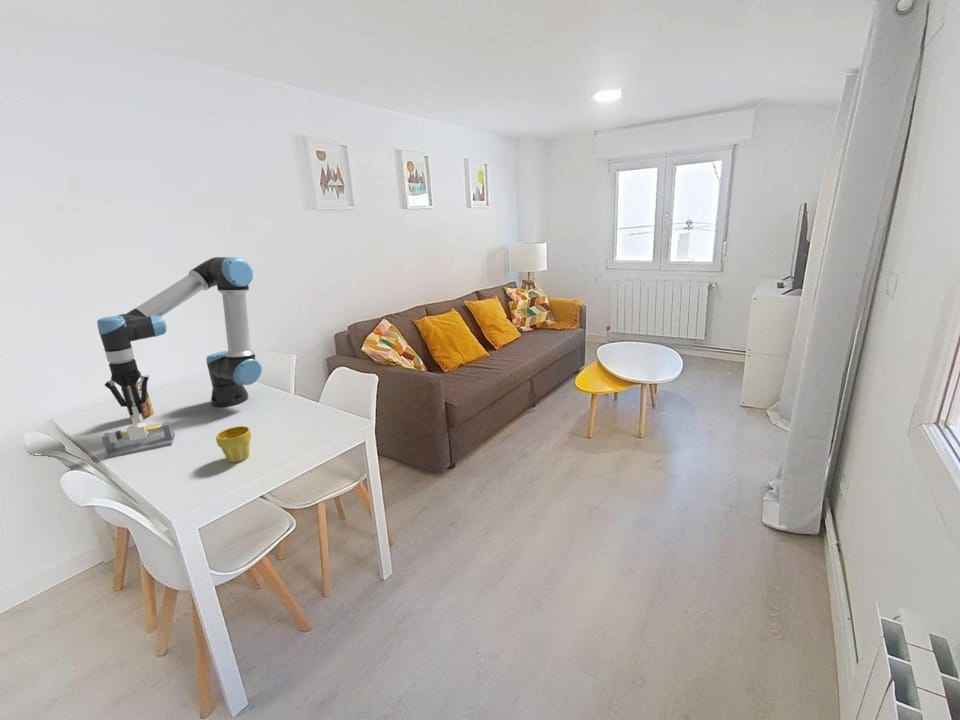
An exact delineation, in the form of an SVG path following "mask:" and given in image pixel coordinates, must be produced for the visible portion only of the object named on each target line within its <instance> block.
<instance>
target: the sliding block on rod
mask: <svg viewBox="0 0 960 720" xmlns="http://www.w3.org/2000/svg"><path fill="white" fill-rule="evenodd" d="M160 429H162V431H163V434H159V435H158V434H157V435H154V436H150V437H149V436H147V437H146V438H141V439H136V440H131V441H130V440H128V441H124V442H119V441H120V440H121V439H122V438H123V437H124V436H129V435H128V431H124V432H122V431H121V430H119V429H118V428H114V429H110V430H109V432H104V433H103V435H102V436H101V439H102V443H103V446H104V449H105V451H106V453H105V455H104V456H103V457H104V459H110V458H111V459H112V458H116V457H120V456H125V455H126V456H127V455H131V454H134V453H138V452H140V453H141V452H145V451H149V450H154V449H159V448H164V447H168V446H172V445H173V443H174V439H175V436H176V433H175V431H173V428H172V425H171V421H170V420H168V421H163V423H162V424H161V425H156V426H151V427H149V426H148V427H147V428H145V430H146V431H149V432H150V431H156V430H160Z"/></svg>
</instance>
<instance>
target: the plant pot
mask: <svg viewBox="0 0 960 720" xmlns="http://www.w3.org/2000/svg"><path fill="white" fill-rule="evenodd" d="M251 439H252V433H251V429H250V427H248V426H246V425H245V426H244V425H241V426H233V427H228V428H226V429H223V430H221V431H219V432H218V433H217V434H216V435H215V440H216V444H217V447H219V448H220V449H221V451H222V452H223V454H224V455H225V458H226V460H227V461H228V462H230V463H240V462H243V461H245V460H247V459H248V458H249V457H250V442H251Z"/></svg>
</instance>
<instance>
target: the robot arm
mask: <svg viewBox="0 0 960 720" xmlns="http://www.w3.org/2000/svg"><path fill="white" fill-rule="evenodd" d="M253 278H254V272H253V268H252V266H251V265H250V264H249V263H248V262H247V261H246V260H245V259H243V258H239V257H235V256H234V257H233V256H230V257H229V256H228V257H227V256H226V257H225V256H222V257H221V256H217V257H212V258H209V259H207V260H205V261H203V262H202V263H200V264H198V265H197V266H196V267H194V268H192V269H190V270H189V271H188V275H186V276H184V277H183V278H181V279H180V280H178V281H176V282H174V283H173V284H172V285H170V286H169V287H167V288H166V289H164V290H162V291H161V292H159V293H157V294H156V295H155V296H152V297H151V298H149V299H148V300H146V301H144V302H143V303H142V304H140V305H138V306H137V307H135V308H133V309H131V310H129V311H128V312H127V313H122V314H118V315H112V316H105V317H101V318H99V319H98V320H97V322H96V323H97V329H98V335H99V336H100V339H101V342H102V345H103V350H104V352H105V356H106V360H107V363H108V367H109V370H110V372H111V373H110V374H111V376H110V377H111V378H110V379H109V381H106V382H105V383H104V387H106V388H108V390H110V392H111V393H112V395H113V397H114V398H115V400H116V402H117V403H118V404H119V405H120V407H125V408H127V407H128V409H127V411H128V410H129V412H128V414H129V413H130V415H134V418H135V422H136V424H138V423H143V421H142V417H141V413H143V408H142V405H141V404H142V403H145V402H146V400H147V392H148V381H149V379H150V376H149V375H148V374H147V375H144V374H142V372H141V371H139V369H138V365H137V361H136V359H135V354H134V351H133V350H134V349H133V346H132V343H131V342H134V341H138V340H144V339H149V338H154V337H156V338H158V336H163V335H165V334H166V332H167V323H166V321H165V319H164V318H163V316H165V315H166V314H168V313H169V312H171V311H172V310H174V309H175V308H177V307H178V306H180V305H182V304H183V303H184V302H186V301H188V300H189V299H191V298H192V297H193V296H196V295H197V294H198V293H200V292H201V291H207V290H209V289H210V288H213V287H215V286H217V291H218V292H219V293H220V294H221V295H222V305H223V314H224V323H225V331H226V342H227V350H224V351H219V352H215V353H211V354H209V355H207V357H206V359H205V360H206V365H207V370H208V373H209V378H210V381H211V386H212V390H211V397H210V401H211V405H212V406H213V407H216V408H219V407H220V408H225V407H230V406H234V405H238V404H241V403H243V402H245V401H247V400H248V399H249V392H248V391H247V389H246V388H245V386H248V385H249V386H250V385H252V384H255V383H256V382H257V380H258V379H259V378H260V377H261V375H262V372H263V369H262V364H261V363H260V362H259V361H258V360H257V359H256V353H255V351H254V350H252V349H251V339H250V330H249V321H248V319H249V318H248V307H247V299H246V298H247V297H246V293H247V292H249V291H250V290H249V288H250V286H249V285H250V284H251V282H252V281H253ZM139 379H140V381H143V382H142V395H141V400H140V396H139V393H138V389H137V384H136V383H137V381H139ZM115 384H116V385H117V386H120V387H121V389H122V390H123V394H124V397H125V400H124V397H123V394H121V392H120V390H118V388H117V386H116V385H115ZM128 386H130V388H131V390H132V393H133V397H134V400H135V405H132V404H133V403H132V400H131V396H130V393H129V389H128ZM122 390H121V391H122ZM125 401H126V402H125ZM130 415H129V416H130Z"/></svg>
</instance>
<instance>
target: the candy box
mask: <svg viewBox="0 0 960 720" xmlns="http://www.w3.org/2000/svg"><path fill="white" fill-rule="evenodd" d="M142 382H143V381H141V380H140V381H139V380H138V381H137V383H136V384H137V389H138V393H139V396H140V400H141V395H142ZM128 389H129V393H130V396H131V400H132V403H133V404H132V405H135V400H134V397H133V393H132V390H131V388H130V386H128ZM121 393H122V394H121V395H122V397H123V399H124V400H125V397H124V394H123V390H122V388H121ZM125 402H126V401H125ZM141 405H142V408H143V413H141V417H142V422H143V421H145V420H146V419H147V418H149V417H150V416H152V415H153V414H154V413H155V411H154V408H153V404H152V401H151V398H150V396H149V392H148V391H147V400H146V402H145V403H142V404H141ZM126 409H127V411H128V414H129V418H130V421H131V422H132V419H131V418H132V416H133V415H130V413H129V410H128V407H126Z"/></svg>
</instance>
